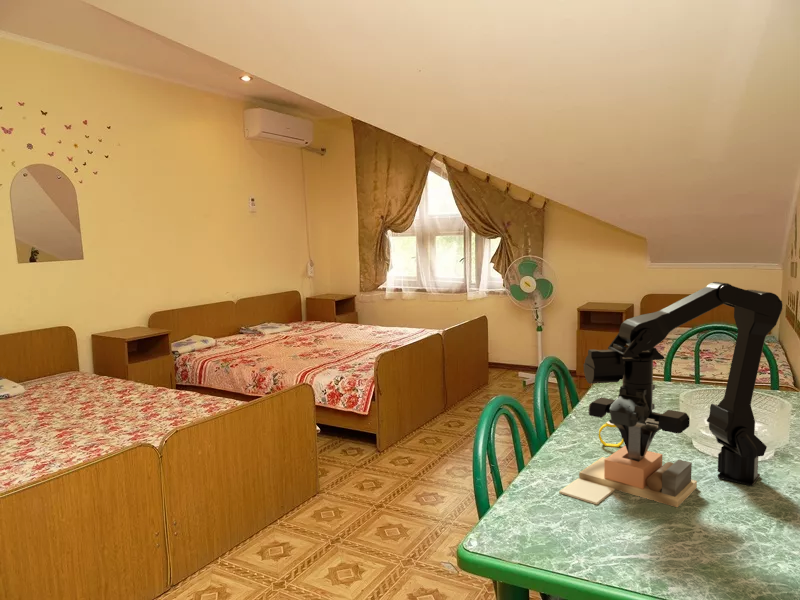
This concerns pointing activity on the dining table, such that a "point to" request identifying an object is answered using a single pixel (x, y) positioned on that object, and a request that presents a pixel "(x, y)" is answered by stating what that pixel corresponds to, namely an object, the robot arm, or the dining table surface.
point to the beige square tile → (587, 491)
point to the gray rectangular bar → (635, 442)
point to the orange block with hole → (631, 467)
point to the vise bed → (645, 492)
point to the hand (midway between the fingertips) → (636, 454)
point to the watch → (607, 443)
